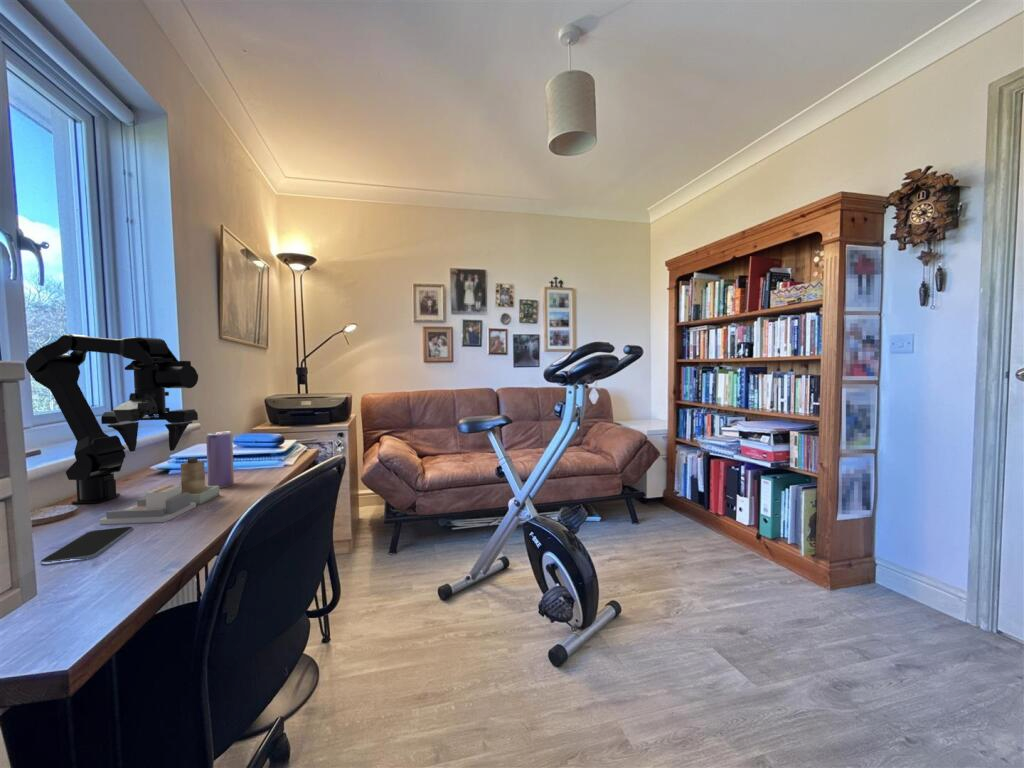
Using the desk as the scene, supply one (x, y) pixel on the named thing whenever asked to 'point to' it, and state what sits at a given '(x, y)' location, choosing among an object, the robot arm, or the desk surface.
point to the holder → (205, 495)
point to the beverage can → (220, 459)
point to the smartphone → (88, 544)
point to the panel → (150, 511)
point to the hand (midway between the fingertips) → (152, 450)
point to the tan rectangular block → (193, 476)
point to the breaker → (161, 496)
